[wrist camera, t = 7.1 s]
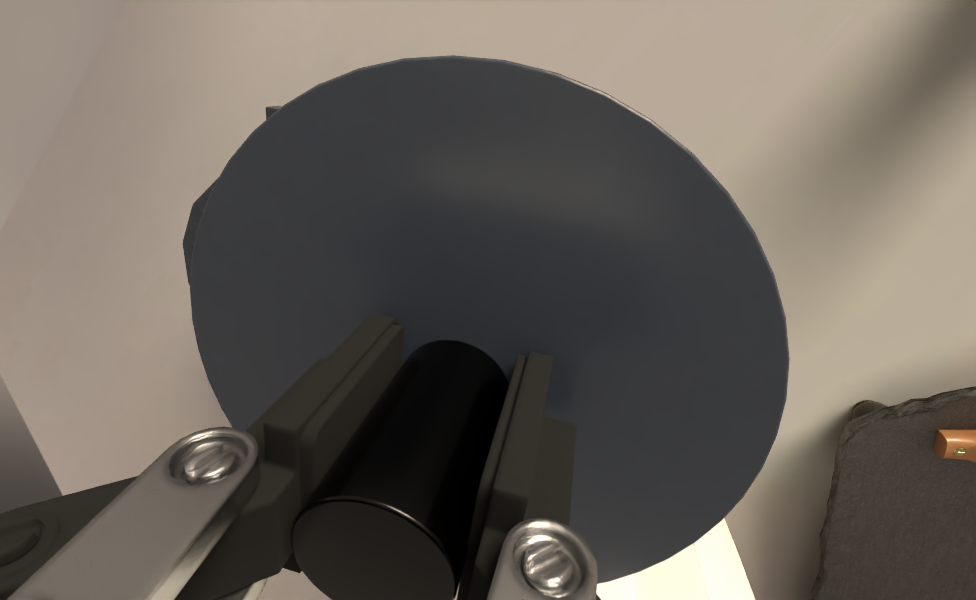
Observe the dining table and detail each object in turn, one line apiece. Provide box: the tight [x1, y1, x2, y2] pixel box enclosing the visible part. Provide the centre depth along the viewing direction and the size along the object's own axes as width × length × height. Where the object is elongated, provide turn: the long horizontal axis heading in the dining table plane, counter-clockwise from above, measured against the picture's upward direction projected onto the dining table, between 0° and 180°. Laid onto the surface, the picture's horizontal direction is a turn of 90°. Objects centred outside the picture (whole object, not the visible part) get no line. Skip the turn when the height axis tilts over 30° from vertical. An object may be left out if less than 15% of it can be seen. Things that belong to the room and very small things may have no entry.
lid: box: [190, 56, 789, 600], centre depth 9 cm, size 14×14×6 cm
